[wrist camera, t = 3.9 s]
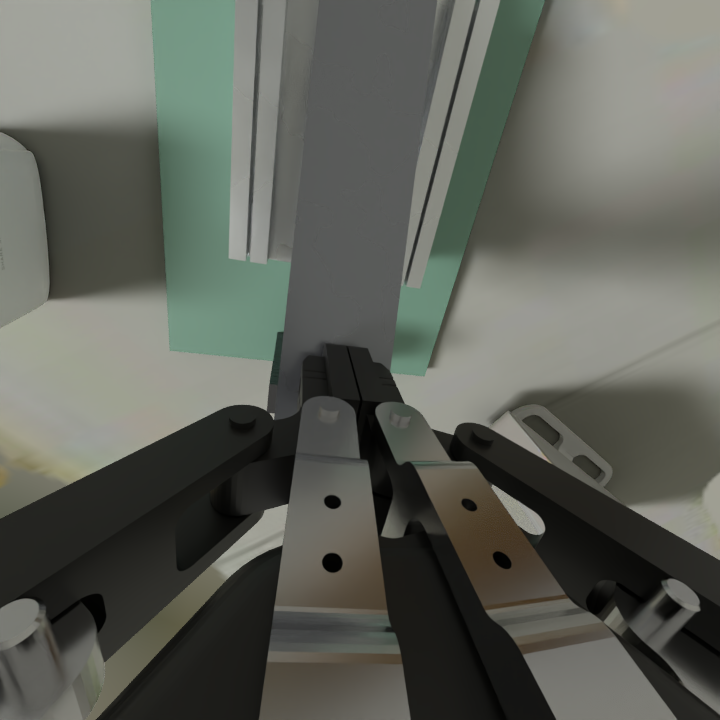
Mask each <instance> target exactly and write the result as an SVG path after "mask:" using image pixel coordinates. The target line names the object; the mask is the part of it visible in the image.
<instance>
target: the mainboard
mask: <svg viewBox="0 0 720 720" xmlns="http://www.w3.org/2000/svg"><path fill="white" fill-rule="evenodd" d="M544 2H545V0H500V3H499V7H498V10H497V14H496V18H495V21H494V25H493V28H492V32H491V36H490V39H489V43H488V46H487V50H486V54H485V57H484V61H483V64H482V68H481V72H480V75H479V79H478V82H477V86H476V90H475V93H474V97H473V100H472V104H471V108H470V111H469V115H468V118H467V122H466V125H465V129H464V133H463V136H462V140H461V143H460V147H459V151H458V154H457V158H456V161H455V165H454V169H453V172H452V176H451V179H450V183H449V187H448V190H447V194H446V197H445V201H444V205H443V208H442V212H441V215H440V219H439V222H438V226H437V230H436V233H435V237H434V240H433V244H432V248H431V251H430V255H429V258H428V262H427V266H426V269H425V273H424V276H423V280H422V284H421V287H420V289H419V288H412V287H406V286H405V284H403V286H401V291H400V298H399V306H398V314H397V322H396V330H395V338H394V346H393V353H392V361H391V369H390V373H397V374H407V375H416V376H425V373H426V370H427V367H428V364H429V360H430V357H431V354H432V351H433V348H434V345H435V342H436V339H437V336H438V332H439V329H440V326H441V323H442V320H443V317H444V314H445V311H446V307H447V304H448V301H449V298H450V295H451V292H452V289H453V286H454V283H455V279H456V276H457V273H458V270H459V267H460V264H461V261H462V258H463V254H464V251H465V248H466V245H467V242H468V239H469V236H470V233H471V230H472V226H473V223H474V220H475V217H476V214H477V211H478V208H479V205H480V202H481V198H482V195H483V192H484V189H485V186H486V183H487V180H488V177H489V173H490V170H491V167H492V164H493V161H494V158H495V155H496V152H497V149H498V145H499V142H500V139H501V136H502V133H503V130H504V127H505V124H506V120H507V117H508V114H509V111H510V108H511V105H512V102H513V99H514V96H515V92H516V89H517V86H518V83H519V80H520V77H521V74H522V71H523V68H524V64H525V61H526V58H527V55H528V52H529V49H530V46H531V43H532V39H533V36H534V33H535V30H536V27H537V24H538V21H539V18H540V15H541V11H542V8H543V5H544ZM151 15H152V33H153V51H154V70H155V88H156V106H157V124H158V143H159V161H160V179H161V198H162V216H163V234H164V252H165V271H166V289H167V307H168V326H169V344H170V351H179V352H189V353H199V354H208V355H218V356H228V357H238V358H248V359H258V360H268V361H273V358H274V352H275V345H276V339H277V332H282V333H284V324H285V314H286V305H287V296H288V286H289V277H290V268H291V263H290V262H284V261H277V260H271V259H268V262H267V264H260V263H254V262H250V256H249V257H248V258H247V260H246V261H241V260H235V259H229V225H230V186H231V148H232V109H233V70H234V32H235V0H151Z"/></svg>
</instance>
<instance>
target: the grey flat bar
mask: <svg viewBox="0 0 720 720" xmlns="http://www.w3.org/2000/svg"><path fill="white" fill-rule="evenodd" d="M436 7H437V0H319V6H318V15H317V24H316V34H315V43H314V52H313V62H312V71H311V81H310V90H309V99H308V109H307V118H306V127H305V137H304V146H303V155H302V165H301V174H300V183H299V193H298V202H297V212H296V221H295V230H294V240H293V249H292V258H291V268H290V277H289V286H288V296H287V305H286V314H285V324H284V333H283V343H282V352H281V361H280V371H279V380H278V389H277V399H276V408H275V417H274V420H279V419H284V418H288V417H290V416H293V415H294V414H296V413H297V398H298V391H299V384H300V376H301V369H302V362H303V360H304V359H305V358H306V357H307V356H308V355H313V356H322V354H323V348H324V344H325V343H329V344H337V345H346V346H355V347H363V348H368V350H369V353H370V355H371V358H372V360H373V362H377V363H381V364H383V365H384V366H385V367H386V368H387V369H388V370H390V369H391V361H392V353H393V346H394V338H395V330H396V322H397V314H398V306H399V298H400V291H401V283H402V275H403V267H404V259H405V251H406V243H407V235H408V228H409V220H410V212H411V204H412V196H413V188H414V180H415V173H416V165H417V157H418V149H419V141H420V133H421V125H422V117H423V110H424V102H425V94H426V86H427V78H428V70H429V62H430V55H431V47H432V39H433V31H434V23H435V15H436Z"/></svg>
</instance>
